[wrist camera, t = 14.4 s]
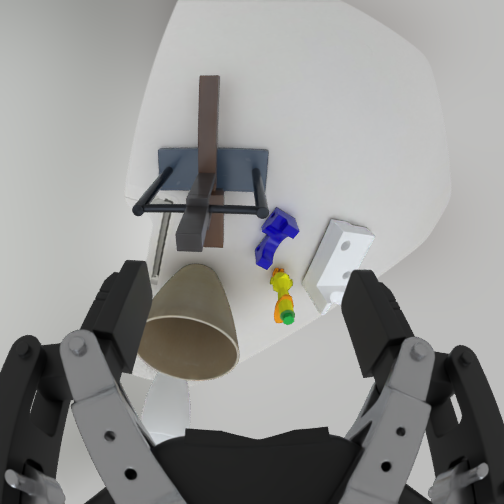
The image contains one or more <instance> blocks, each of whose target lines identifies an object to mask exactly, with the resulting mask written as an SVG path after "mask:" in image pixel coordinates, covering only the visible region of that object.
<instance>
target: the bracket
mask: <svg viewBox="0 0 504 504" xmlns="http://www.w3.org/2000/svg"><path fill="white" fill-rule="evenodd" d="M374 238H375V235H374V234H373V233H372V232H371V231H370V230H368V229H367V228H366V227H360V226H354V225H351V224H350V223H349V222H345V221H339V220H334V219H331V222H330V224H329V226H328V228H327V231H326V233H325V235H324V237H323V240H322V242H321V244H320V246H319V248H318V250H317V253H316V255H315V257H314V259H313V261H312V263H311V265H310V267H309V270H308V272H307V274H306V276H305V278H304V280H303V282H302V285H303V287H304V288H305V290H306V292H307V293H308V295H309V296H310V298H311V300H312V301H313V303H314V305H315V306H316V308H317V310H318V311H319V313H320V315H325V314H326V312H327V311H328V309H329V307H330V306H331V304H332V303H336V304H339V305H341V303H342V298H343V295H344V292H345V289H346V286H347V283H348V281H349V278H350V275H351V272H352V271H353V270H357V269H358V268H359V266H360V264H361V262H362V260H363V259H364V257H365V255H366V253H367V251H368V249H369V247H370V245H371V244H372V242H373V240H374Z"/></svg>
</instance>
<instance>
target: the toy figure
mask: <svg viewBox="0 0 504 504" xmlns="http://www.w3.org/2000/svg"><path fill="white" fill-rule="evenodd" d="M271 284H272V285H273V289H274V291H276V292H278V301H277V303H276V306H275V312H274V319H275V322H276V323H282V322H283V323H284V324H286V325H289V324H292V323H293V322H294V317H295V313H294V311H293V307H294V305H293V301H292V296H290V295H289V293H288V290H289V289H290V288H291V286H293V281H292V279H290V278H289V275H287V274H286V273H284V269H280V271H279V272H278V268H275V270H274V271H273V277H271V280H270V285H271Z"/></svg>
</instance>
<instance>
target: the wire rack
mask: <svg viewBox="0 0 504 504" xmlns="http://www.w3.org/2000/svg"><path fill="white" fill-rule="evenodd" d="M158 161H159V176H158V178H157V179H156V180H155V181H154V182H153V183H152V185H151V186H150V187H149V188H148V189H147V191H146V192H145V193H144V194H143V195H142V197H141V198H140V199H139V200H138V202H137V203H136V204H135V205H134V207H133V209H132V211H133V213H134V215H136V216H141V215H142V214H143V213H144V212H174V213H184V212H185V209H186V207H187V204H150V203H151V202H152V200H153V199H154V197H155V196H156V195H157V193H158V192H159V190H190V189H191V187H192V185H193V183H194V181H195V179H196V177H197V175H198V148H160V149H159V150H158ZM267 165H268V150H264V149H244V148H217V187H216V188H223V191H242V192H254V198H255V206H240V205H209V213H225V214H255V215H257V216H258V217H259V218H261V219H264V218H266V217H267V216H268V215H269V209H268V205H267V200H266V195H265V189H266V177H267Z"/></svg>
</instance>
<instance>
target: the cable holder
mask: <svg viewBox="0 0 504 504" xmlns="http://www.w3.org/2000/svg"><path fill="white" fill-rule="evenodd" d="M261 228H262V232H263V233H265V234H267V235H266V236H265V238H264V239H263V240H262V242H261V243H260V244H259V245H258V247H257V248H256V249H255V257H256V265H258V266H260V267H262V268H264V269H266V270H267V269H268V268H269V267H270V266H271V265H272V263H273V256H274V253H275V251H276V249H277V247H278V245H279V244H280V243H281V242H282V241H283V240H284V239H285V238H286V237H288V236H289V237H291V238H292V239H293V238H294V237H295V236H296V235H297V234H298V232H299V228H298V226H297V223H296V220H295V218H293V217H292V216H290V215H288V214H287V213H285V212H284V211H282V210H280V209H279V208H277V207H276V208H275V210H274V211H273V212H272V214H271V215H270V216H269V218H268V219H267V220H266V222H265V223H264V224H263V225H262V227H261Z"/></svg>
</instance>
